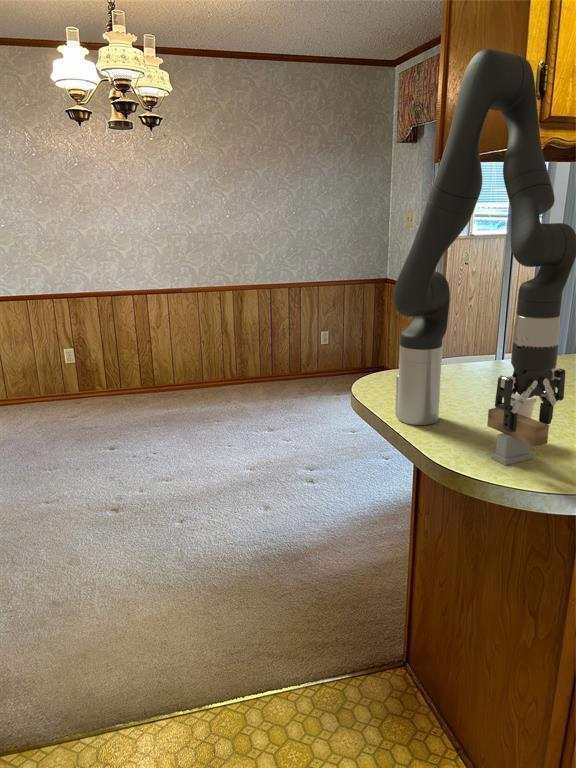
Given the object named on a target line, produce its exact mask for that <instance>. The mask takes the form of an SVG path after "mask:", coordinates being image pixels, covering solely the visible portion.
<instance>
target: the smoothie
mask: <svg viewBox="0 0 576 768" xmlns="http://www.w3.org/2000/svg"><path fill="white" fill-rule="evenodd" d="M515 395H518V396H520V395H519V394H518V392H516V394H515ZM537 397H538V396H533V397H531V398H527V400H526V402H525V403H522V404H521V405H520V407H519V409H518V410H517V412H516V413H518V414H520V415H523V416H526V417H528V418H531V419H532V416H533V412H534V408H535V407H534V406H535V403H537V401H538V400H537ZM503 400H504V397H503ZM514 402H515V400H514V401H513V402H512V404H511V405H513V404H514Z"/></svg>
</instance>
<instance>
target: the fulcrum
mask: <svg viewBox="0 0 576 768" xmlns="http://www.w3.org/2000/svg"><path fill="white" fill-rule="evenodd" d="M496 436H497V437H496V446H495V447H496V448H495V452H493V453H491V455H490V457H491V458H490V459H492V460H493V461H495V462H498V463H500V464H502V465H504V466H507V465H511V464H515V463H519V462H522V461H527V460H528V461H529V460H532V459H534V452H531V451H530V448H531V447H530V446H531V445H530V444H528V443H526V442H523V441H521V440H519V439H516V438H514V437H512V436H509V435H507V434H505V433H502V432H501V433H498V434H497V435H496Z"/></svg>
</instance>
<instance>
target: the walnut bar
mask: <svg viewBox="0 0 576 768" xmlns="http://www.w3.org/2000/svg"><path fill="white" fill-rule="evenodd" d="M487 411H488V412H487V427H488V428H491V429H492V430H493V429H494V430H495V431H498V432H500V433H501V434H502V433H505V434H507V435H509V436H512V437H514V438H516V439H519V440H521V441H523V442H526V443H528V444H530V446H533V447H538V446H543V445H547V444H548V441H549V439H548V438H549V430H550V424H548V425H547V424H544V423H542V422H539V420H536V419H533V418H532V417H531V418H528V417H526V416H523V415H520V414H517V425H516V431H515V432H512V433H511V432H509V431H506V430H505V429H504V427H503V420H504V410H501V409H499V408H496V407H494V408H493V407H492V408H488V410H487Z"/></svg>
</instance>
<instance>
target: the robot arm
mask: <svg viewBox="0 0 576 768" xmlns="http://www.w3.org/2000/svg"><path fill="white" fill-rule="evenodd" d="M459 87H460V88H459V90H458V95H457V100H456V104H455V108H454V112H453V117H452V120H451V125H450V130H449V133H448V137H447V141H446V144H445V147H444V150H443V153H442V156H441V160H440V161H439V162H440V163H439V166H438V169H437V172H436V175H435V177H434V179H433V183H432V185H431V188H430V192H429V193H428V194H429V195H428V197H427V201H426V205H425V207H424V211H423V214H422V217H421V220H420V223H419V225H418V228H417V230H416V234H415V236H414V239H413V242H412V245H411V247H410V250H409V252H408V255H407V257H406V259H405V262H404V263H403V266H402V268H401V270H400V273H399V274H398V277H397V279H396V282H395V285H394V289H393V304H394V306H395V309H396V311H397V312H398V313H399V314H400V315H402V316H404V317H413V318H412V321H411V323H409V324H408V326H407V327H406V328H404V329H403V330H402V331H401V333H400V335H399V352H398V353H399V354H398V356H399V357H398V375H396V381H395V382H396V386H395V388H396V389H395V415H396V416H397V420H399V421H400V422H402V423H405V424H408V425H413V426H414V425H416V426H426V425H432V424H435V423H438V421H439V418H440V397H441V394H440V393H441V375H442V374H441V373H442V357H443V356H442V354H443V339H444V337H445V335H446V333H447V329H448V324H449V323H448V322H449V311H450V301H451V292H450V290H451V289H450V284H449V282H448V280H447V278H446V276H445V275H444V274H442V273H441V272H439V271H436V270H437V269H436V268H437V267H438V264H439V263H440V260H441V258H442V257H443V255H444V254H445V253H446V251H447V250H448V249H449V248H450V247H451V246H452V244H453V243H454V242H455V241H456V239H457V238H458V237H459V236H460V234H461V233H462V232H463V231H464V230H465V228H466V226H467V225H468V223H469V222H470V220H471V218H472V216H473V214H474V212H475V211H474V210H475V208H476V205H477V203H478V201H479V197H480V194H481V192H482V188H483V171H482V161H481V157H480V156H481V155H480V154H481V153H480V140H481V134H482V131H483V127H484V123H485V121H486V118H487V115H488V113H489V110H490V111H491V110H492V111H496V112H500V113H501V116H502V117H503V119H504V122H505V125H506V127H507V132H508V141H507V147H506V151H505V155H504V159H503V165H502V177H503V181H504V186H505V187H504V188H505V191H506V194H507V197H508V202H509V205H510V211H511V215H510V216H511V217H510V250H511V254H512V256H513V258H514V259H515V261H517V263H518V264H519V265H520V266H523V267H525V268H526V267H528V268H534V267H535V268H537V267H539V269H538V271H537V274H536V275H535V276H534V277H533V278H531V279H529V280H526V281H524V282H522V283H521V284H520V285H519V288H518V293H517V305H516V316H515V317H516V318H515V320H514V321H515V322H514V325H513V335H512V345H511V348H512V349H511V359H510V364H511V365H512V368H513V372H512V375H511V376H505V375H499V376H498V378H497V386H496V393H495V394H496V395H495V402H494V408H499V409H501V410H504V420H503V427H504V429H505V430H506V431H509V432H511V433H512V432H515V431H516V425H517V414H518V413H516V412H517V410H518V409H519V407H520V405H521V404H522V403H525V402H526V400H527V398H531V397H533V396H537V397H539V399H540V401H541V402H540V405H539V414H538V415H539V417H538V421H539V422H542V423H544V424H547V425H550V424H551V423H552V419H553V416H554V407H555V405H556V404H557V402H558V401H563V400H564V397H565V387H566V386H565V382H566V370H565V369H563V368H559V367H557V364H558V363H557V361H558V352H559V344H560V342H559V341H560V333H561V323H560V322H561V320H560V318H561V309H562V299H563V297H562V296H563V292H564V289H565V287H566V284H567V282H568V279H569V276H570V274H571V271H572V268H573V266H574V264H575V261H576V231H575V230H574V228H573V227H572V226H570V225H569V224H567V223H564V222H563V223H562V222H555V223H542V222H541V219H540V216H541V215H543V214H545V213H547V212H548V211H550V210H551V209H552V208H553V206H554V205H555V198H556V197H555V193H554V188H553V185H552V181H551V178H550V174H549V171H548V168H547V164H546V160H545V156H544V152H543V148H542V141H541V134H540V133H541V132H540V122H539V121H540V120H539V112H538V111H539V110H538V103H537V92H536V81H535V75H534V71H533V68H532V65H531V63H530V61H529V60H528V59H526V58H525V57H524V56H521V55H518V54H516V53H511V52H506V51H503V50H497V49H492V48H485V49H481V50H480V51H478V52H476V54H474V55H473V57H472V58H471V60H470V61H469V63H468V65H467V67H466V69H465V71H464V74H463V77H462V80H461V84H460V86H459ZM556 389H557V391H556ZM516 392H518V394H519V395H520V396H518V395H515V394H516ZM503 397H504V399H503ZM514 400H515V402H514V404H513V405H511V404H512V402H513V401H514Z"/></svg>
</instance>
